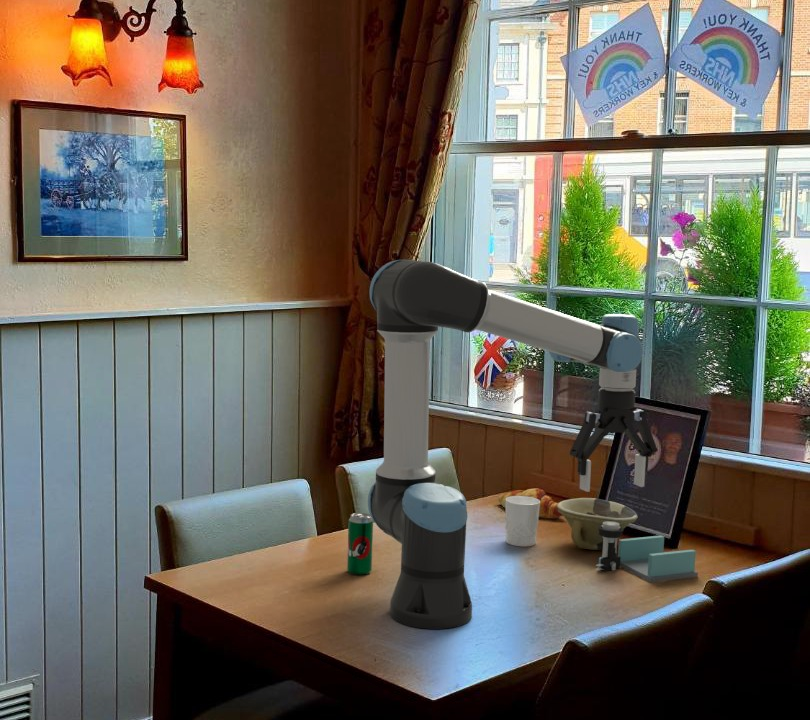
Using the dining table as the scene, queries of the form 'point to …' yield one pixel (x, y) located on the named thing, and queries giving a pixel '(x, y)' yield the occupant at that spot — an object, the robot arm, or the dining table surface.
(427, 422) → the robot arm
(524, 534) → the white cup
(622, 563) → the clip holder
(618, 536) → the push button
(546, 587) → the dining table surface
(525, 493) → the croissant
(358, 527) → the soda can
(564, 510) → the bowl
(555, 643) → the dining table surface
